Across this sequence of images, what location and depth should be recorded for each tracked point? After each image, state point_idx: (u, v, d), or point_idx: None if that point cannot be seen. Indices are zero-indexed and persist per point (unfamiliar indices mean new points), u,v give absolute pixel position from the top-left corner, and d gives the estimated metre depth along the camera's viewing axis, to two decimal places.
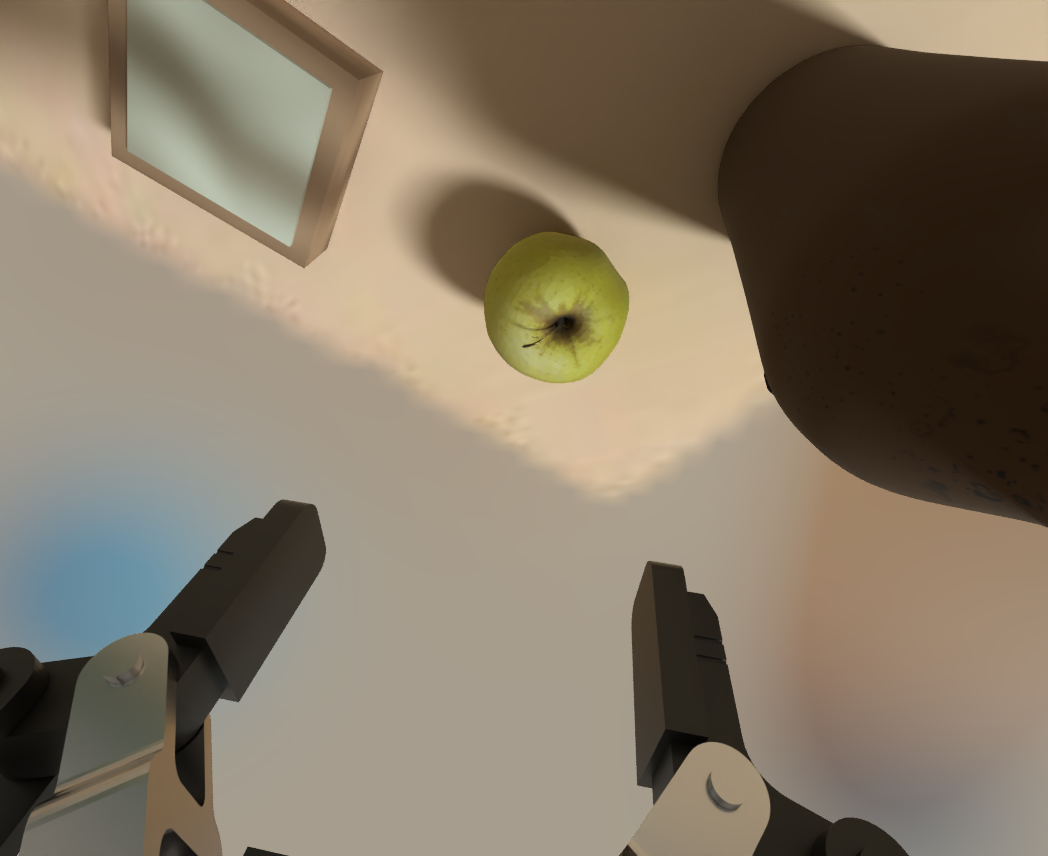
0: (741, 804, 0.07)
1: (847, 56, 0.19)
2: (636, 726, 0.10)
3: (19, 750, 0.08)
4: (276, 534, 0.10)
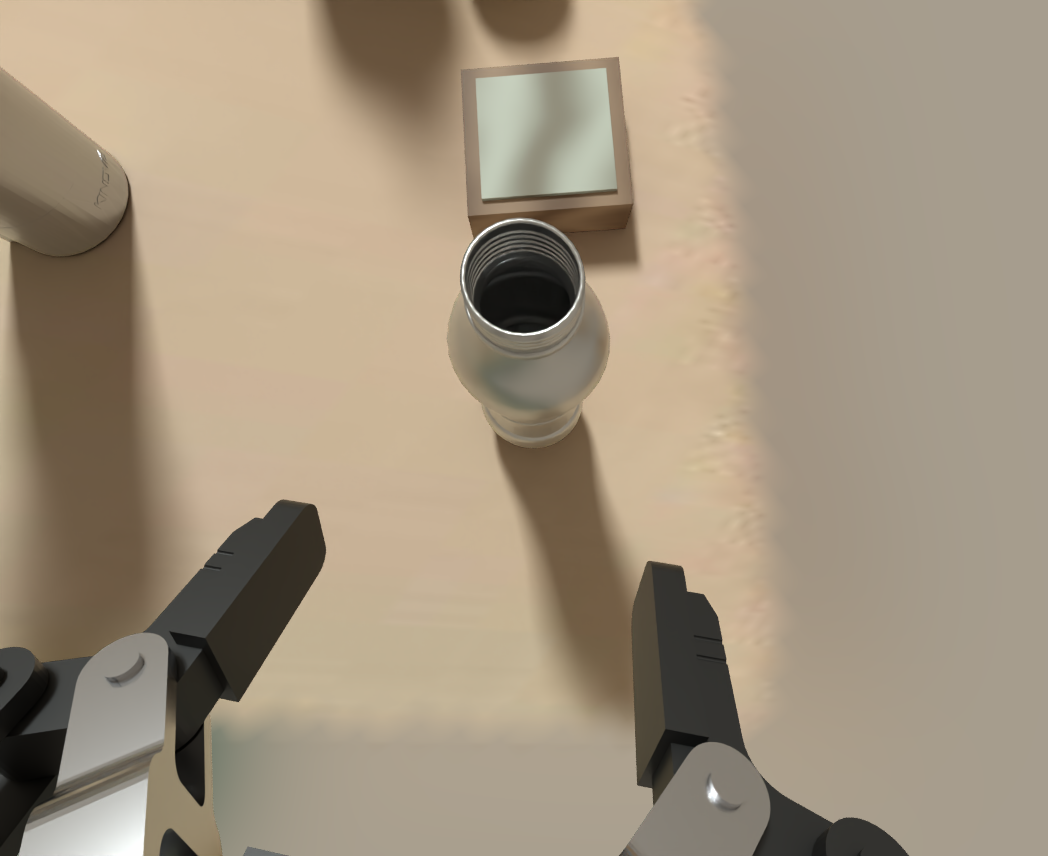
0: (741, 804, 0.07)
1: None
2: (636, 726, 0.10)
3: (19, 750, 0.08)
4: (276, 534, 0.10)
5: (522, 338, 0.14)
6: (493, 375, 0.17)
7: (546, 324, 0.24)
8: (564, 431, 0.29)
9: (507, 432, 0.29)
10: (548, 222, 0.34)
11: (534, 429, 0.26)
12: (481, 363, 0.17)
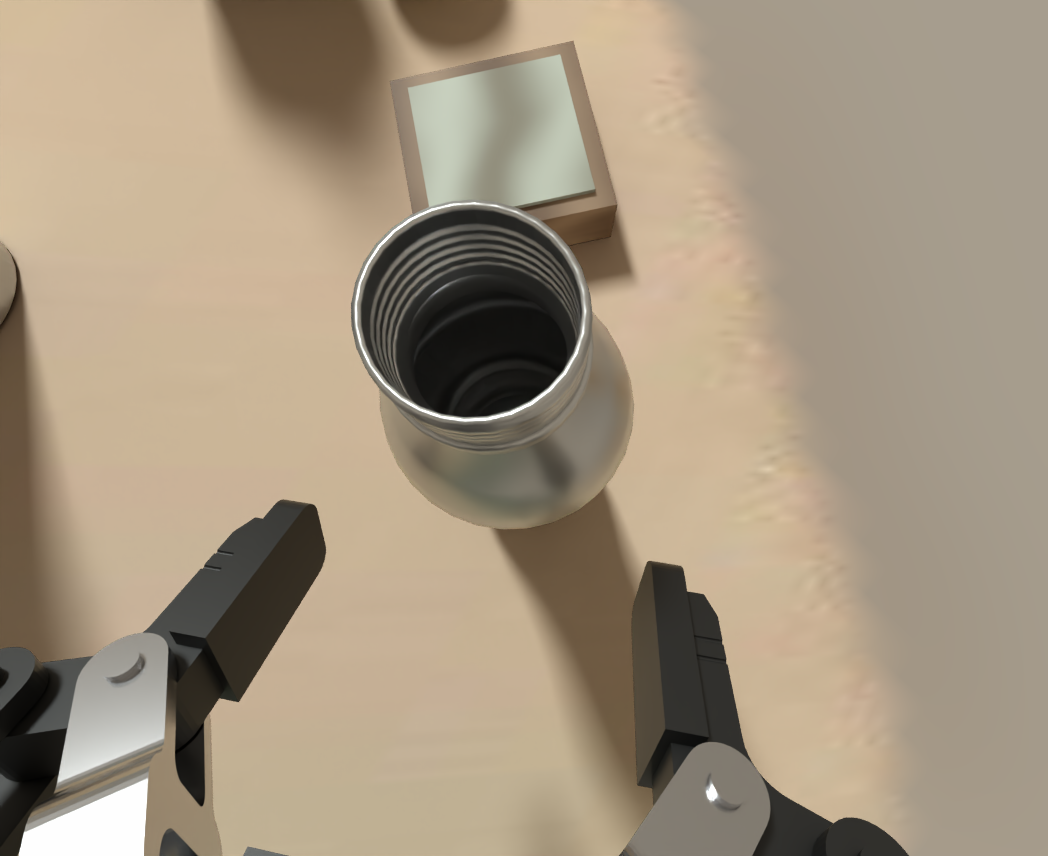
0: (741, 804, 0.07)
1: None
2: (636, 726, 0.10)
3: (19, 750, 0.08)
4: (276, 534, 0.10)
5: (485, 426, 0.07)
6: (454, 475, 0.10)
7: (532, 368, 0.18)
8: None
9: None
10: None
11: None
12: (431, 459, 0.10)
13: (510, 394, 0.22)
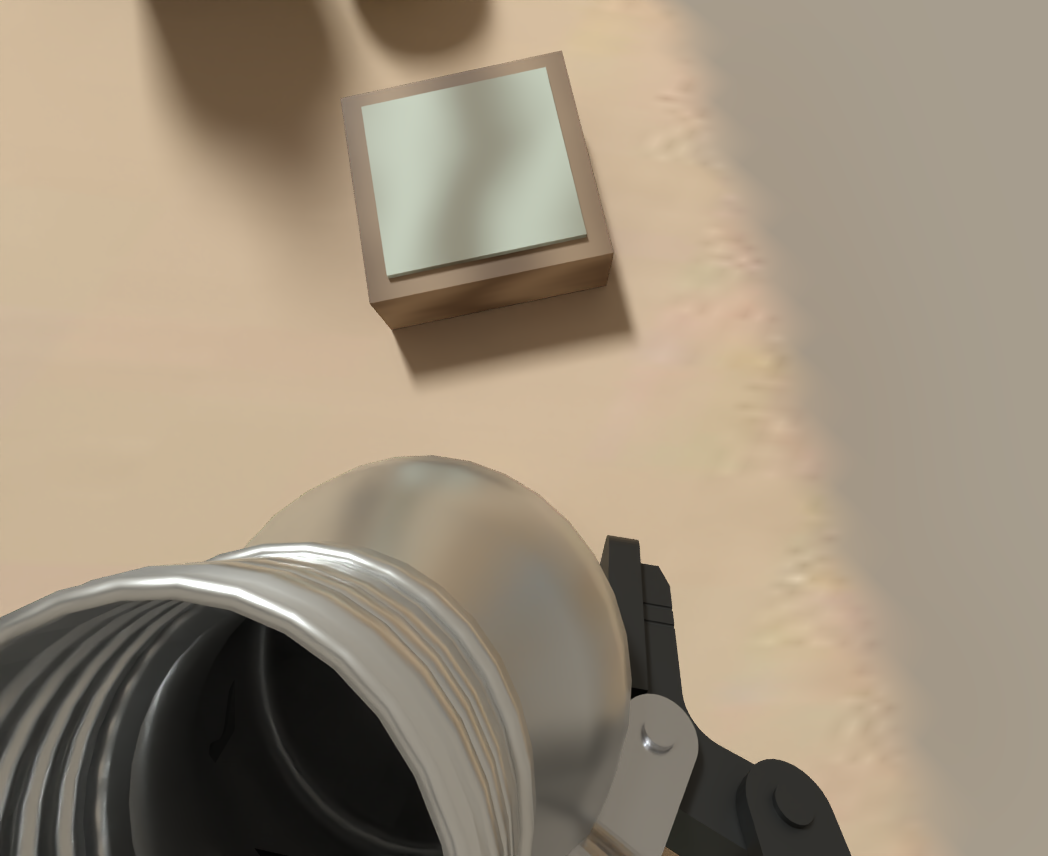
0: (671, 747, 0.07)
1: None
2: None
3: None
4: None
5: None
6: None
7: None
8: None
9: None
10: (493, 294, 0.23)
11: None
12: None
13: None
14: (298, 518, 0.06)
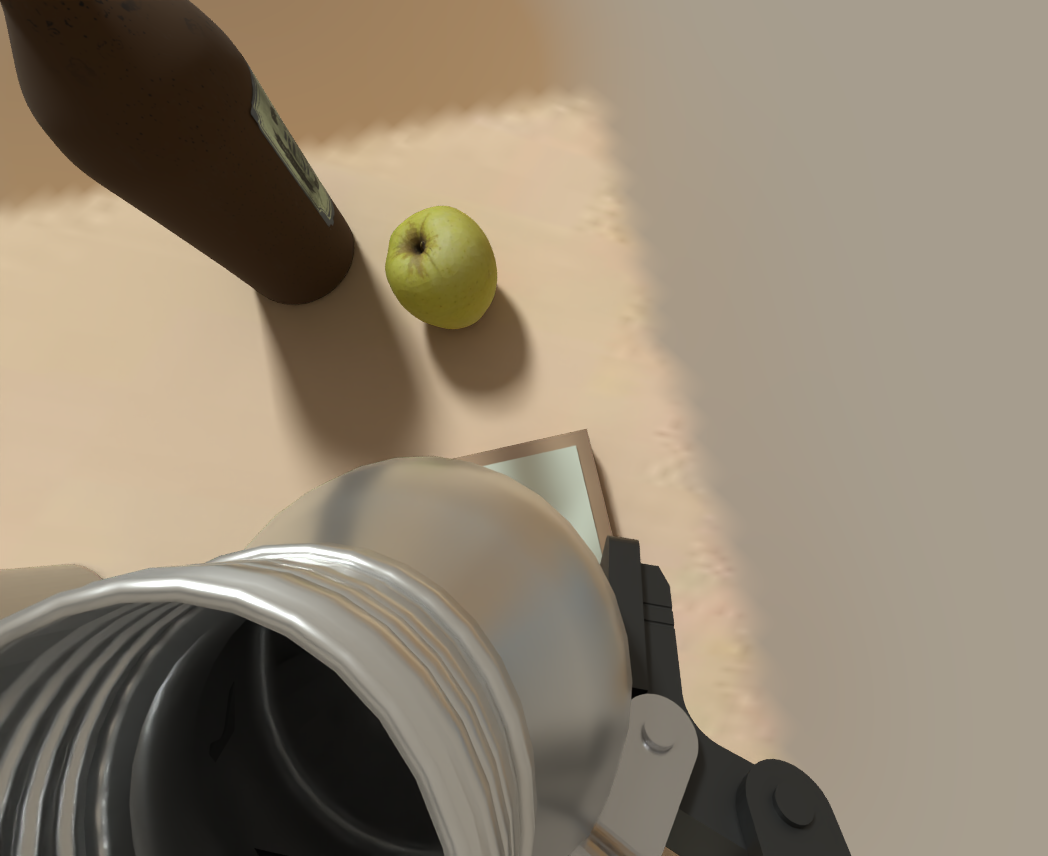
0: (671, 747, 0.07)
1: (245, 281, 0.37)
2: None
3: None
4: None
5: None
6: None
7: None
8: None
9: None
10: None
11: None
12: None
13: None
14: (299, 519, 0.06)
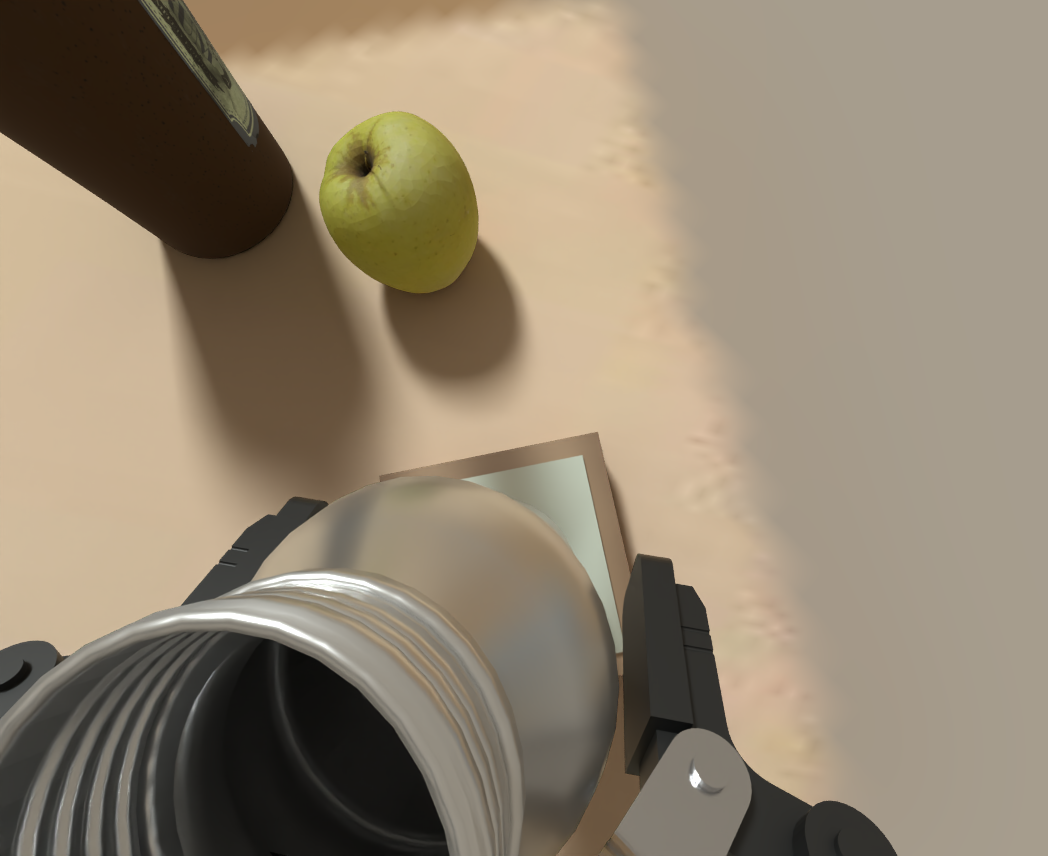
0: (723, 788, 0.07)
1: (135, 221, 0.27)
2: (625, 715, 0.10)
3: None
4: (290, 530, 0.10)
5: None
6: None
7: None
8: None
9: None
10: None
11: None
12: None
13: None
14: (313, 539, 0.07)
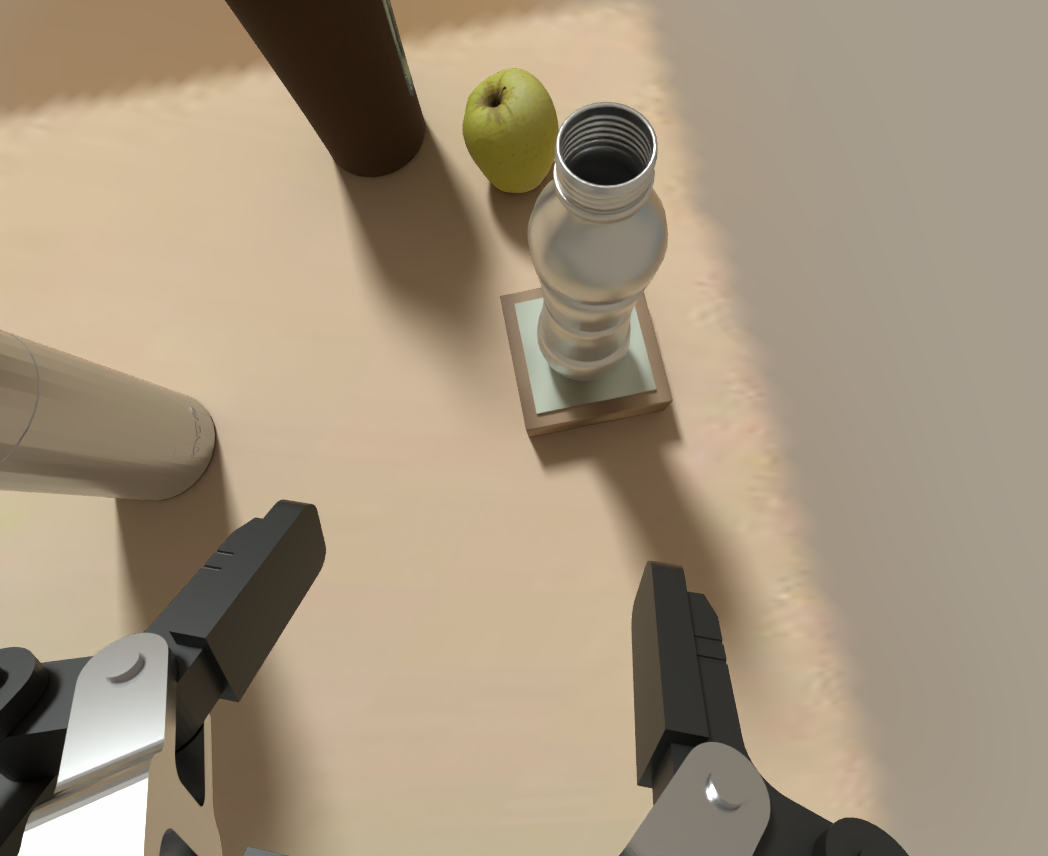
0: (741, 804, 0.07)
1: (333, 147, 0.42)
2: (636, 726, 0.10)
3: (19, 750, 0.08)
4: (276, 534, 0.10)
5: (614, 189, 0.17)
6: (579, 252, 0.20)
7: None
8: (619, 354, 0.32)
9: (569, 361, 0.32)
10: (596, 419, 0.37)
11: (597, 345, 0.29)
12: (568, 244, 0.20)
13: None
14: None
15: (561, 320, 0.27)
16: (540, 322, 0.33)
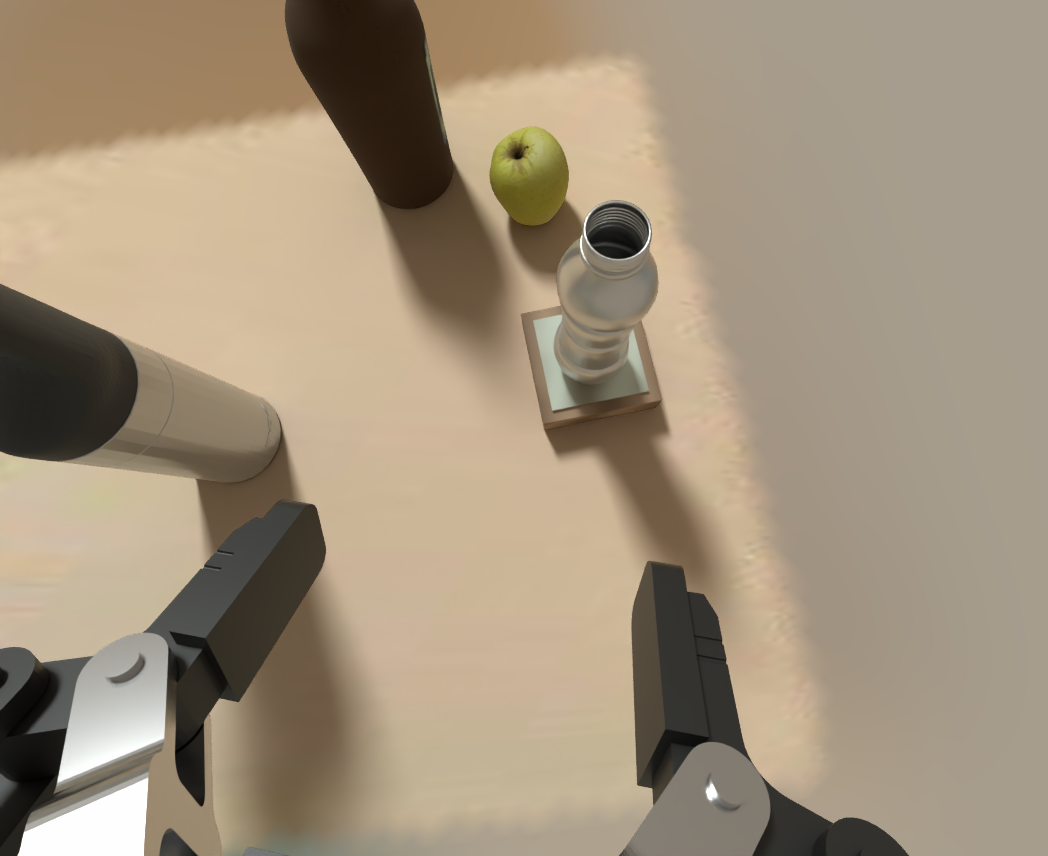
0: (741, 804, 0.07)
1: (378, 185, 0.50)
2: (636, 726, 0.10)
3: (19, 750, 0.08)
4: (276, 534, 0.10)
5: (623, 261, 0.25)
6: (596, 297, 0.29)
7: None
8: (620, 364, 0.41)
9: (581, 369, 0.40)
10: (600, 415, 0.46)
11: (604, 357, 0.38)
12: (588, 291, 0.29)
13: None
14: None
15: (577, 339, 0.35)
16: (557, 338, 0.41)
